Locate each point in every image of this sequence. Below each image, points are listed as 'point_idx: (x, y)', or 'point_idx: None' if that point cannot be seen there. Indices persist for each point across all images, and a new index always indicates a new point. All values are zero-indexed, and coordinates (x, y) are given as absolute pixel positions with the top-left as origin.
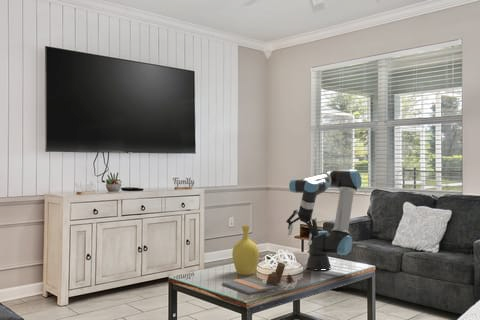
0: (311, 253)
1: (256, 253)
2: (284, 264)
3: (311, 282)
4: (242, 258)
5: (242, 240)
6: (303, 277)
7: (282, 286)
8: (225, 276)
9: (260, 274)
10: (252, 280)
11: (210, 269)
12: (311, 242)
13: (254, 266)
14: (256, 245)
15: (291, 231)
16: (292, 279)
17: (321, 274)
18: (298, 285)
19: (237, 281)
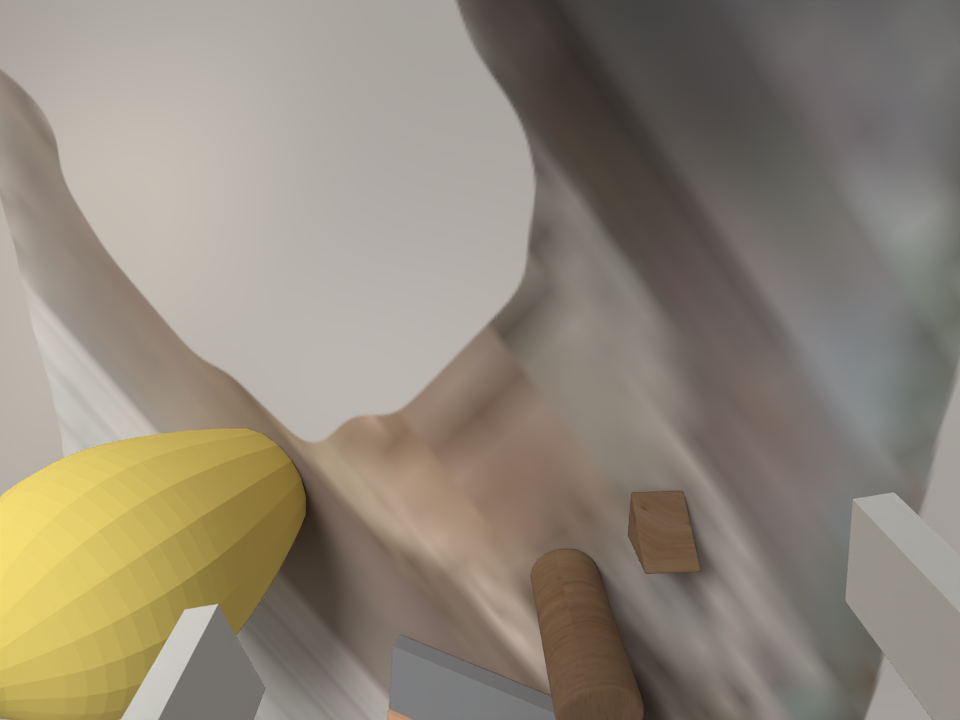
0: None
1: (199, 592)
2: (616, 689)
3: (875, 441)
4: None
5: None
6: (673, 316)
7: (716, 689)
8: (259, 628)
9: (343, 463)
10: (468, 700)
11: None
12: (938, 551)
13: (279, 524)
14: (73, 564)
15: (183, 717)
16: (691, 536)
17: (766, 28)
18: (820, 604)
19: None
